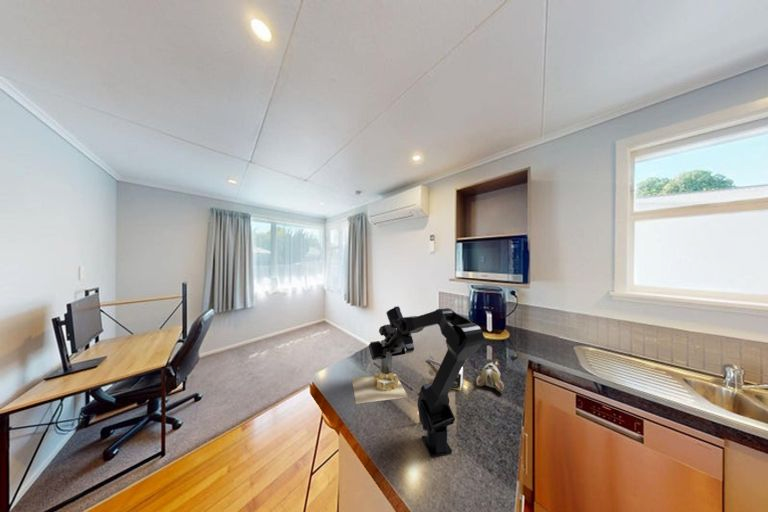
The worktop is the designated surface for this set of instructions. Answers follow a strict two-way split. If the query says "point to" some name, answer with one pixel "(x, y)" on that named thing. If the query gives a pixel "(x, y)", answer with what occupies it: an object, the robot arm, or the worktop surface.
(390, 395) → the birch plate
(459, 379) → the medicine bottle
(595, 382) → the worktop surface
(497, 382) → the ceramic sculpture
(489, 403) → the worktop surface
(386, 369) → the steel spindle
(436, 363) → the caliper
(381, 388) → the ring nut
